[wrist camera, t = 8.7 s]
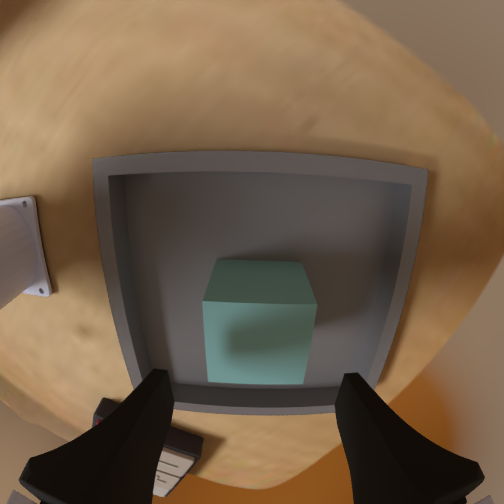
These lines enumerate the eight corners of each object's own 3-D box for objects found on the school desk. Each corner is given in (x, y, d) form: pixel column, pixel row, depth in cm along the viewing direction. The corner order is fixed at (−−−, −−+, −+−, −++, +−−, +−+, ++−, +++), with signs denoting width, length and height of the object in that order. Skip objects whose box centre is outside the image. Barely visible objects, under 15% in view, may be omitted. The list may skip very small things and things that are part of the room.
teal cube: (218, 329, 19) (208, 381, 14) (216, 258, 17) (202, 301, 12) (293, 331, 19) (303, 384, 14) (301, 261, 17) (317, 304, 12)
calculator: (201, 462, 21) (165, 501, 25) (205, 430, 25) (170, 478, 29) (90, 418, 20) (86, 470, 24) (105, 389, 24) (96, 448, 28)
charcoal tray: (147, 382, 22) (138, 403, 19) (112, 156, 15) (92, 158, 13) (358, 388, 21) (366, 409, 19) (407, 165, 15) (428, 169, 13)
